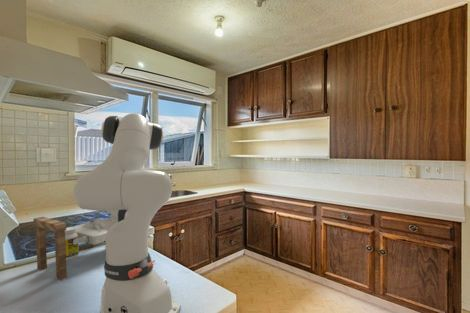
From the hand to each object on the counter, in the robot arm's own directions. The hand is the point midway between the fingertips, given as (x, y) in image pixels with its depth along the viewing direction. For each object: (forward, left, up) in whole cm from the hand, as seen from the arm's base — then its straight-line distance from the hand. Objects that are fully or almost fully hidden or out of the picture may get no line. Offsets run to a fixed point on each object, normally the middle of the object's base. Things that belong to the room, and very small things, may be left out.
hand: (67, 240), depth 98 cm
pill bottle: (0, 0, -7) cm, 7 cm away
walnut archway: (0, +6, -10) cm, 12 cm away
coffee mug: (+15, -20, -10) cm, 27 cm away
